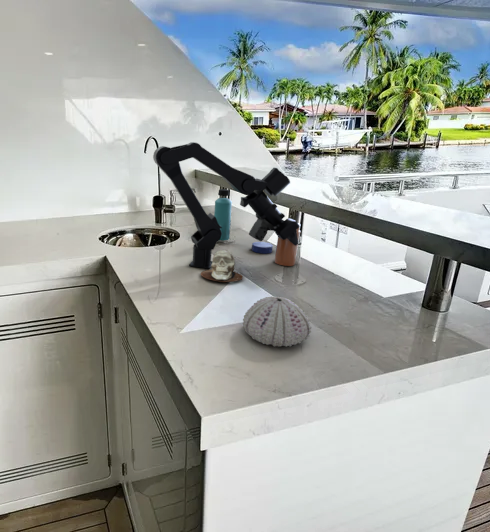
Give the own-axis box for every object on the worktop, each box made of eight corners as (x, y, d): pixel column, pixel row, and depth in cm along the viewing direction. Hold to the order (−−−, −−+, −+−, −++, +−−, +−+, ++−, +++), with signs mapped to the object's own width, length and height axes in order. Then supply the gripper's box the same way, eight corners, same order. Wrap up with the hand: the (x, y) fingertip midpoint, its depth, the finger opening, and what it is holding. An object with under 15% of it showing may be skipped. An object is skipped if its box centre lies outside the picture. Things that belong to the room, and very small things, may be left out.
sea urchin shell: (320, 351, 73) (327, 314, 70) (251, 353, 72) (256, 315, 69) (292, 319, 85) (297, 286, 83) (233, 320, 84) (236, 287, 82)
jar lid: (259, 246, 140) (260, 240, 139) (276, 251, 135) (276, 245, 134) (247, 250, 136) (248, 243, 135) (264, 254, 131) (264, 248, 130)
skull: (244, 283, 102) (220, 254, 101) (214, 302, 107) (191, 274, 106) (249, 268, 112) (227, 241, 112) (221, 286, 117) (201, 260, 116)
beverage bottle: (230, 244, 142) (235, 190, 135) (212, 244, 142) (216, 190, 135) (227, 240, 148) (232, 188, 141) (210, 239, 148) (214, 187, 142)
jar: (294, 267, 119) (301, 226, 115) (273, 264, 121) (279, 224, 117) (295, 261, 125) (301, 222, 121) (275, 258, 127) (280, 220, 123)
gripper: (233, 218, 126) (261, 250, 131) (254, 232, 108) (285, 268, 113) (259, 195, 124) (286, 228, 129) (284, 205, 107) (314, 243, 112)
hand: (291, 241), depth 121 cm, fingers closed on jar, 6 cm apart
